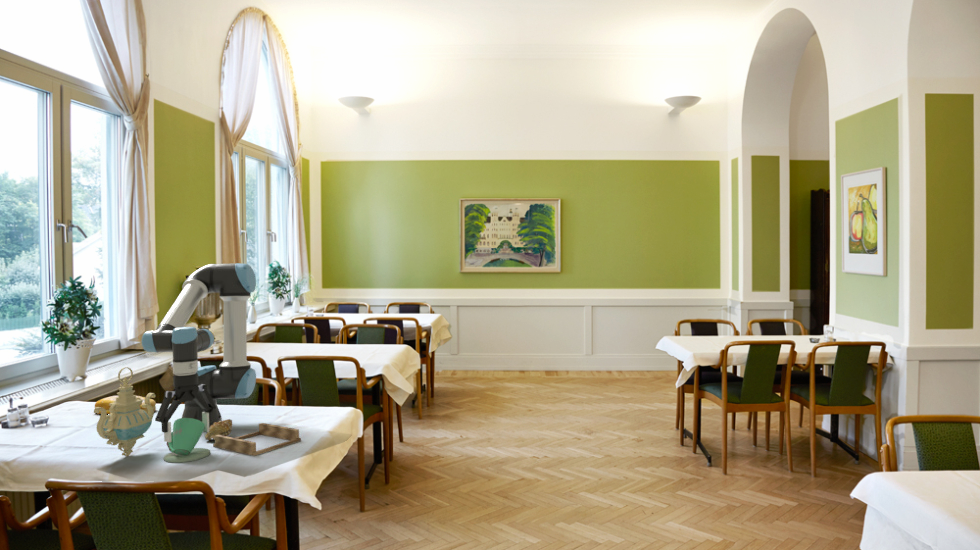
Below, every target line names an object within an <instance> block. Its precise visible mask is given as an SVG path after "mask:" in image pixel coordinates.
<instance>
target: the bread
mask: <svg viewBox="0 0 980 550" xmlns="http://www.w3.org/2000/svg"><path fill="white" fill-rule="evenodd" d="M116 397H118V395H112V396H108V397H104V398H101V399H99V400H97V401H96V402H95V403H94V408H95V407H102V408H104V409H105V410H106V413H107V414H110V413H111V412H110V411H109V409H110V407H111V406H109V404H110V403H113V402H115V401H116ZM137 397H138V398H140V399H141V400H143V402H142V404H145V402H144V401H145V397H146V396H142V395H141V396H140V395H136V398H137ZM150 404H151V406H152V407H153V410H154V413H155V411H156V409H157V407H156V404H157V402H156V400H154V399H153V398H150ZM140 409H142V410H144V411H145V412H146V413H147V414H148V409H147V408H142V405H141V406H140ZM99 414H101V411H99V413H97V414H96V415H99Z"/></svg>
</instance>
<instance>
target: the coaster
mask: <svg viewBox="0 0 980 550" xmlns="http://www.w3.org/2000/svg"><path fill="white" fill-rule="evenodd" d="M210 455H211V449H208V448H204V447H194V448H193V450H192V451H191V453H190V454H189V455H178V454H176V453H174V452H171V451H170V452H169V453H167V454H165V455H164V456H163V460H164V462H166V463H173V464H174V463H175V464H177V463H178V464H179V463H190V462H195V461H199V460H202V459H204V458H207V457H209V456H210Z"/></svg>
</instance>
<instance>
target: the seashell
mask: <svg viewBox="0 0 980 550" xmlns="http://www.w3.org/2000/svg"><path fill="white" fill-rule="evenodd" d="M232 429H233V420H232V419H230V418H229V419H222V421H219V422H215V423H214V424H213V425H211V426H210V428H209V432H206V433H205V435H204V438H205V440H206V441H211V440H213V441H215V436H216V435H222V436H227V437H229V435H230V433H231V432H232V431H233V430H232Z"/></svg>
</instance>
